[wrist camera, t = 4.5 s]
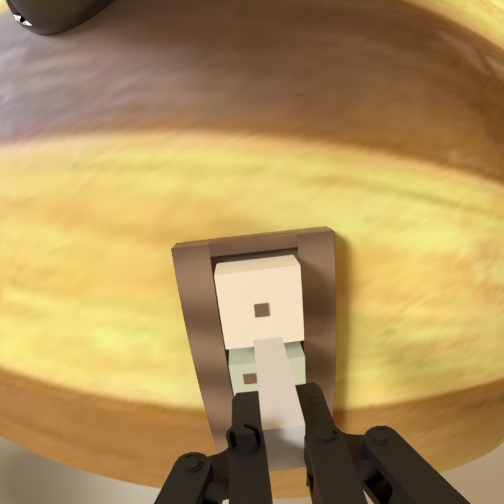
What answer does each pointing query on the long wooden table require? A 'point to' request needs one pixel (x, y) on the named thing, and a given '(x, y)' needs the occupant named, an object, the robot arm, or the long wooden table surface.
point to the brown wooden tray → (209, 321)
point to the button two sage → (245, 367)
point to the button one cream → (260, 300)
